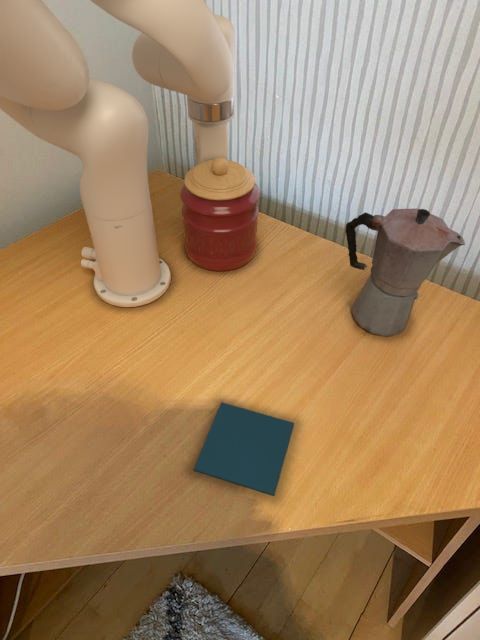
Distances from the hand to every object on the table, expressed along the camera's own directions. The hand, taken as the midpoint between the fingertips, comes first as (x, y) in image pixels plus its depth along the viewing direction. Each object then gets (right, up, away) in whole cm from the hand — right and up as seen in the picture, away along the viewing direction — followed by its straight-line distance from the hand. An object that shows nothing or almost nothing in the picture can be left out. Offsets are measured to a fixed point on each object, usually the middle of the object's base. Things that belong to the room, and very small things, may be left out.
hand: (214, 203), depth 90 cm
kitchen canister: (+1, -9, -4) cm, 10 cm away
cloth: (+6, -38, -31) cm, 49 cm away
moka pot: (+27, -22, -15) cm, 37 cm away
